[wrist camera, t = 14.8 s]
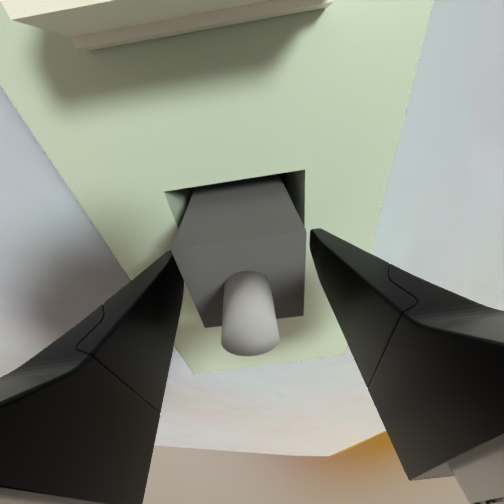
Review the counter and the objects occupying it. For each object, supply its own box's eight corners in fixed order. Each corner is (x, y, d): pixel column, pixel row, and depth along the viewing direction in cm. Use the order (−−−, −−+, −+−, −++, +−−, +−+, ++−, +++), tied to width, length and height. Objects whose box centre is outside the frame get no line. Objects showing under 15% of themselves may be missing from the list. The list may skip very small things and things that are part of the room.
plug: (277, 226, 14) (318, 367, 7) (216, 234, 14) (198, 381, 7) (273, 163, 12) (330, 280, 5) (200, 173, 12) (149, 303, 5)
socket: (327, 312, 20) (345, 354, 17) (199, 329, 21) (193, 374, 17) (399, -271, 6) (618, -744, 2) (-46, -171, 6) (-366, -462, 3)
